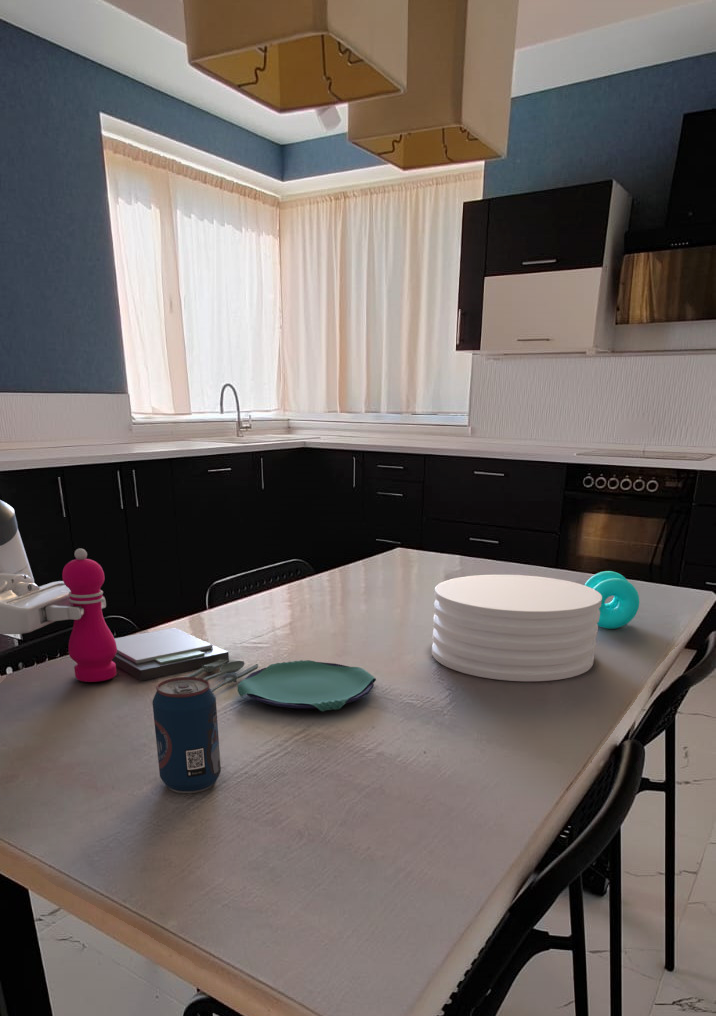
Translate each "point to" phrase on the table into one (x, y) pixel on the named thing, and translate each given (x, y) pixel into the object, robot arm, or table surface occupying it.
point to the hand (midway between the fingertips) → (92, 608)
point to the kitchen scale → (164, 653)
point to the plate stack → (515, 627)
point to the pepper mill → (89, 621)
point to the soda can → (187, 734)
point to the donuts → (615, 599)
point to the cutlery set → (297, 683)
